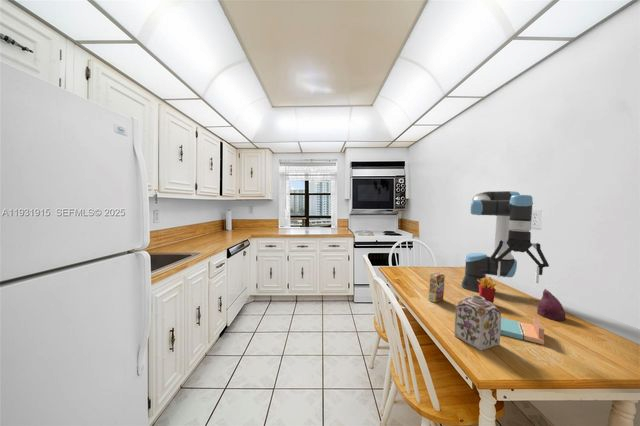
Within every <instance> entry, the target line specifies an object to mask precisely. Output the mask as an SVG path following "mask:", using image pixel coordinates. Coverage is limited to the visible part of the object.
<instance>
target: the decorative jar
mask: <svg viewBox="0 0 640 426" xmlns="http://www.w3.org/2000/svg"><path fill="white" fill-rule="evenodd" d="M501 318H502V312H501V310H500V309H498V307H497V306H496V304H494V302H493V303H491V302H489V301H486V300H485V298H483V297H481V296H479V295H471V296H466V297H462V298H460V300H459V301H458V302H457V303H456V304H455V315H454V332H453V333H454V337H456V338H458V339H459V340H460V341H463V342H465V343H466V344H468V345H470V346H472V347H474V348H475V349H477V350H479V351H481V352H482V351H485V350H487V349H490V348H493V347H495V346H500V342H501V334H500V331H501Z"/></svg>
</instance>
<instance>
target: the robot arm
mask: <svg viewBox="0 0 640 426" xmlns="http://www.w3.org/2000/svg"><path fill="white" fill-rule="evenodd" d="M533 200H534V199H533V196H532V195H531V194H529V195H528V194H520V192H519V191H512V190H509V191H508V190H507V191H505V190H504V191H501V190H500V191H490V190H489V191H482V192H480V193H477V194H475V195H474V196H473V197H472V198H471V201H470V214H471V215H475V216H496V218H495V219H496V221H495V234H494V247H493V248H494V249H493V250H494V251H493V252H491V254H490V256H488V255H487V253H483V252H482V253H481V252H479V253H478V252H473V253H471V252H470V253H468V254H466V255H465V266H464V269H465V270H464V277H463V278H462V281H461V285H460V286H461V288H463V289H465V290H468V291H471V290H472V291H471V292H476V291H477V293H479V284H480V283H479V282H478V281H477V279H478V280H480V279H482V278H485V277H486V276H487V275H488V276H497V278H501V277H502V278H513V277H514V276H515V274H516V272H517V267H518V265H517V264H518V261H517V259H515V257H514V255H513V254H512V251H513V252H514V253H515V252H517V253H518V252H519V253H527V255H528V256H529V257H530V258H531V259H532V260H533V262H534V263H535V264H536V265H537V266H535V273H534V276H535V277H534V282H535V283H536V284H539V282H540V281H539V279H540V276H543V271H544V268H548V267H550V265H549V262H548V261H547V258H546V257H545V255H544V253H543V251H542V249H541V244H540V243H539V242H536V243H532V242H531V239H532V236H531V235H532V233H531V231H532V220H533V219H532V217H533V216H532V215H533V204H534V201H533ZM532 247H533V248H534V249H535V250H536V252H537V255H538V256H539V258H540V260H541V262H542V263H541V262H540V261H539V259H538V258H537V257H536V256H535V255H534V254H533V253H532V252H531V251H530V250H529V249H531V248H532ZM486 278H487V277H486ZM480 281H481V280H480ZM484 284H485V283H484Z"/></svg>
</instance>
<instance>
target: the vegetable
mask: <svg viewBox="0 0 640 426" xmlns="http://www.w3.org/2000/svg"><path fill="white" fill-rule="evenodd" d="M542 291H543V292H542V297H541V299H540V301H539V302H538V304H537V310H536V314H538V315H539V316H541V317H542V318H546V319H549V320H552V321H558V322H563V321H566V312H565V309H564V306H563V304H562V303H561V302H560V301H559V299H558V298H557V297H556V296H555V295H554V294H552V293H551V292H550V291H549V290H548V289H546V288H544V289H543V290H542Z"/></svg>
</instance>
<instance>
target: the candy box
mask: <svg viewBox="0 0 640 426" xmlns="http://www.w3.org/2000/svg"><path fill="white" fill-rule="evenodd" d="M445 276H446V274H445V273H442V272H436V273H432V274H430V275H429V289H428V301H430V302H433V303H437V302H440V301H442V300H444V293H445V278H446V277H445Z"/></svg>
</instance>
